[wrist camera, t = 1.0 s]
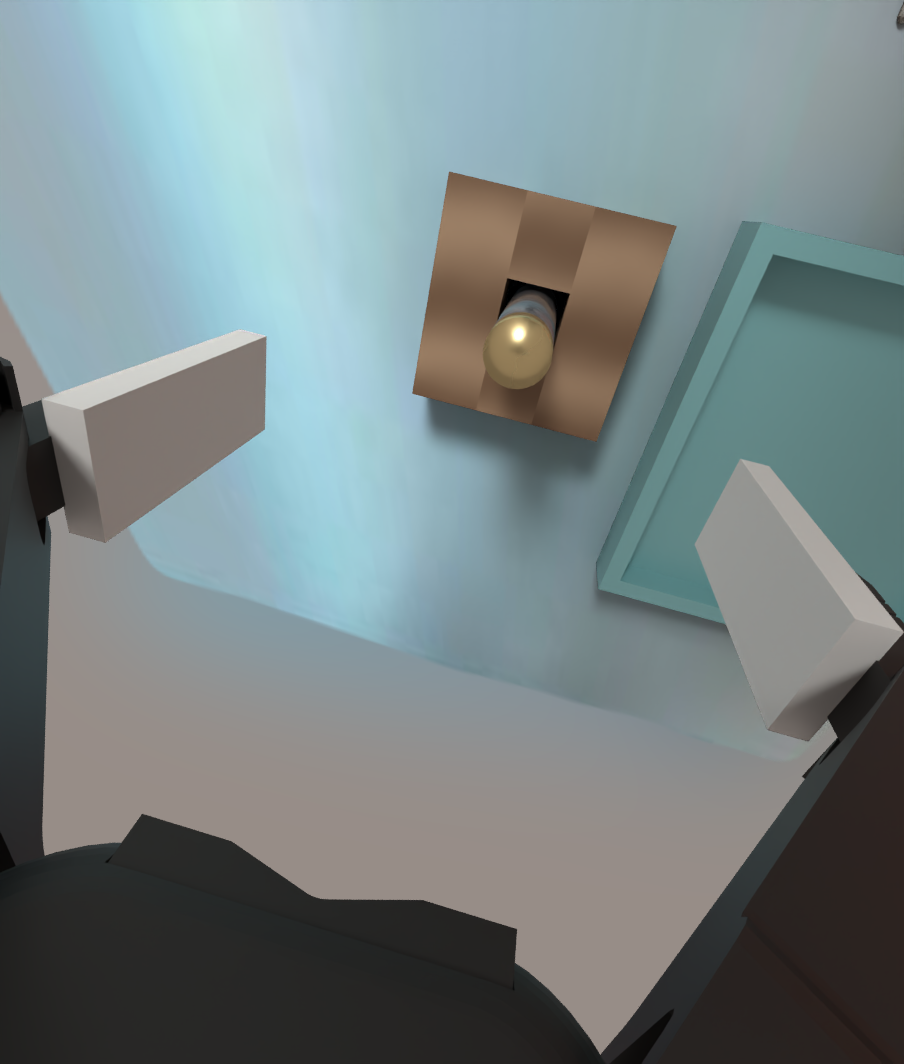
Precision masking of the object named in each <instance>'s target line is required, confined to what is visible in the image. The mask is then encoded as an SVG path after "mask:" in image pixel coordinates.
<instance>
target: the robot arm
mask: <svg viewBox="0 0 904 1064" xmlns="http://www.w3.org/2000/svg"><path fill="white" fill-rule="evenodd" d="M265 387H266V336H264V335H260V334H256V333H252V332H248V331H245V330H241V329H239V330H237V331H234V332H231V333H228V334H225V335H222V336H220V337H217V338H214V339H211V340H208V341H205V342H202V343H200V344H197V345H194V346H191V347H188V348H185V349H182V350H180V351H177V352H174V353H171V354H168V355H165V356H162V357H160V358H157V359H154V360H151V361H148V362H145V363H142V364H140V365H137V366H134V367H131V368H128V369H125V370H122V371H120V372H117V373H114V374H111V375H108V376H105V377H102V378H100V379H97V380H94V381H91V382H88V383H85V384H82V385H80V386H77V387H74V388H71V389H68V390H65V391H62V392H60V393H57V394H54V395H51V396H48V397H45V398H43V399H41V400H40V401H38V402H34V403H32V404H29V405H26V406H23V407H22V405H21V400H20V396H19V392H18V387H17V383H16V379H15V374H14V370H13V366H12V364H11V362H10V361H8V360H6V359H4V358H2V357H0V1064H904V623H903V622H902V620H901V619H900V618H898V617H896V615H897V614H896V613H895V612H894V611H893V610H892V608H891V607H890V606H889V605H888V604H885V602H886V601H885V600H884V599H883V597H882V596H881V595H880V594H879V593H878V591H877V590H876V589H875V588H874V587H873V585H871V584H870V583H869V582H868V581H866V580H865V579H864V578H862V577H861V576H860V575H859V574H857V573H856V572H855V571H854V570H853V569H852V568H851V566H850V565H849V564H848V563H847V561H846V560H845V559H844V558H843V557H842V555H841V554H840V553H839V552H838V550H837V549H836V548H835V547H834V545H833V544H832V543H831V542H830V541H829V539H828V538H827V537H826V536H825V534H824V533H823V532H822V531H821V529H820V528H819V527H818V526H817V524H816V523H815V522H814V521H813V520H812V518H811V517H810V516H809V515H808V513H807V512H806V511H805V510H804V508H803V507H802V506H801V505H800V504H799V502H798V501H797V500H796V499H795V497H794V496H793V495H792V494H791V492H790V491H789V490H788V489H787V488H786V486H785V485H784V484H783V483H782V481H781V480H780V479H779V478H778V476H777V475H776V474H775V473H774V472H773V470H772V469H771V468H770V467H769V466H766V465H763V464H759V463H755V462H751V461H747V460H743V459H740V460H739V462H738V464H737V466H736V468H735V470H734V471H733V473H732V475H731V477H730V479H729V481H728V483H727V485H726V486H725V488H724V490H723V492H722V494H721V496H720V498H719V500H718V501H717V503H716V505H715V507H714V509H713V511H712V513H711V515H710V516H709V518H708V520H707V522H706V524H705V526H704V528H703V530H702V531H701V533H700V535H699V537H698V539H697V541H696V543H695V547H696V549H697V552H698V554H699V557H700V560H701V562H702V565H703V567H704V570H705V572H706V575H707V577H708V580H709V582H710V585H711V588H712V590H713V593H714V595H715V598H716V600H717V603H718V605H719V608H720V611H721V613H722V616H723V618H724V621H725V623H726V626H727V628H728V631H729V634H730V636H731V639H732V641H733V644H734V646H735V649H736V651H737V654H738V656H739V659H740V662H741V664H742V667H743V669H744V672H745V674H746V677H747V679H748V682H749V685H750V687H751V690H752V692H753V695H754V697H755V700H756V702H757V705H758V707H759V710H760V713H761V715H762V718H763V720H764V723H765V725H766V728H767V730H770V731H773V732H777V733H780V734H784V735H787V736H791V737H794V738H798V739H802V740H805V741H809V740H810V739H811V738H812V737H813V736H814V735H815V733H816V732H817V731H818V730H819V729H820V728H821V727H822V725H823V724H824V723H825V722H826V721H827V720H829V722H830V723H831V725H832V727H833V729H834V731H835V733H836V735H837V737H838V738H837V739H836V740H835V741H834V742H833V743H832V744H831V745H830V746H829V748H828V749H827V750H826V751H825V752H824V753H823V754H822V755H821V756H820V758H818V760H817V761H816V762H815V763H814V764H813V765H812V766H811V767H810V768H809V769H808V770H807V772H806V773H805V774H804V775H803V776H802V777H803V778H805V780H804V781H803V782H802V784H801V785H800V787H799V788H798V789H797V791H796V792H795V793H794V795H793V796H792V798H791V799H790V800H789V802H788V803H787V804H786V806H785V807H784V809H783V810H782V811H781V813H780V814H779V815H778V817H777V818H776V820H775V821H774V822H773V824H772V825H771V827H770V828H769V829H768V831H767V832H766V833H765V835H764V836H763V837H762V839H761V840H760V842H759V843H758V844H757V846H756V847H755V848H754V850H753V851H752V853H751V854H750V855H749V857H748V858H747V859H746V861H745V862H744V864H743V865H742V866H741V868H740V869H739V871H738V872H737V873H736V875H735V876H734V878H733V879H732V880H731V882H730V883H729V884H728V886H727V887H726V888H725V890H724V891H723V893H722V894H721V895H720V897H719V898H718V900H717V901H716V902H715V904H714V905H713V907H712V908H711V909H710V910H709V912H708V913H707V915H706V916H705V917H704V919H703V920H702V922H701V923H700V924H699V926H698V927H697V928H696V930H695V931H694V932H693V934H692V935H691V937H690V938H689V939H688V941H687V942H686V943H685V945H684V946H683V948H682V949H681V950H680V952H679V953H678V954H677V956H676V957H675V959H674V960H673V961H672V963H671V964H670V966H669V967H668V968H667V970H666V971H665V972H664V974H663V975H662V977H661V978H660V979H659V981H658V982H657V983H656V985H655V986H654V988H653V989H652V990H651V992H650V993H649V994H648V996H647V997H646V999H645V1000H644V1001H643V1003H642V1004H641V1006H640V1007H639V1008H638V1010H637V1011H636V1012H635V1014H634V1015H633V1016H632V1018H631V1019H630V1020H629V1021H628V1023H627V1024H626V1025H625V1026H624V1028H623V1029H622V1030H621V1031H620V1032H619V1034H618V1035H617V1036H616V1037H615V1038H614V1039H613V1041H612V1042H611V1043H610V1044H609V1045H608V1046H607V1048H606V1049H605V1050H604V1051H603V1052H602V1054H601V1055H600V1054H599V1052H598V1050H597V1049H596V1047H595V1046H594V1044H593V1043H592V1041H591V1039H590V1038H589V1037H588V1035H587V1034H586V1033H585V1032H584V1030H583V1029H582V1027H581V1026H580V1025H579V1023H578V1022H577V1021H576V1020H575V1018H574V1017H573V1015H572V1014H571V1013H570V1012H569V1011H568V1010H567V1008H566V1007H565V1006H564V1005H563V1004H562V1003H561V1002H560V1001H559V1000H558V999H557V998H556V997H555V996H554V995H553V994H552V992H551V991H550V990H549V989H547V988H546V987H545V986H544V985H543V984H542V983H541V982H539V981H538V980H537V979H536V978H535V977H534V976H532V975H531V974H530V973H529V972H528V971H526V970H525V969H523V968H522V967H520V966H519V965H517V964H516V963H515V950H516V934H517V929H515V928H511V927H508V926H505V925H502V924H498V923H495V922H492V921H488V920H485V919H482V918H479V917H476V916H472V915H469V914H466V913H463V912H459V911H456V910H453V909H449V908H446V907H443V906H440V905H436V904H433V903H430V902H427V901H424V900H327V899H319V898H315V897H313V896H311V895H309V894H307V893H306V892H304V891H303V890H301V889H300V888H298V887H297V886H295V885H294V884H292V883H291V882H290V881H288V880H287V879H285V878H284V877H282V876H281V875H279V874H278V873H276V872H275V871H274V870H272V869H271V868H269V867H268V866H266V865H265V864H263V863H262V862H261V861H259V860H258V859H256V858H255V857H253V856H252V855H251V854H249V853H248V852H246V851H245V850H243V849H242V848H240V847H239V846H237V845H236V844H235V843H233V842H231V841H229V840H225V839H222V838H219V837H216V836H212V835H209V834H206V833H203V832H199V831H196V830H193V829H190V828H186V827H183V826H180V825H177V824H173V823H170V822H166V821H163V820H160V819H157V818H154V817H151V816H147V815H144V814H142V815H141V817H140V818H139V819H138V820H137V822H136V823H135V825H134V826H133V828H132V829H131V830H130V832H129V833H128V835H127V836H126V837H125V839H124V840H123V842H122V843H108V844H97V845H88V846H83V847H78V848H74V849H69V850H65V851H60V852H55V853H53V854H49V855H46V856H45V855H44V849H43V837H42V816H43V815H42V814H43V783H44V749H45V716H46V683H47V649H48V616H49V615H48V614H49V582H50V551H51V530H50V526H49V521H48V517H47V516H48V515H50V514H51V513H53V512H55V511H57V510H58V509H60V508H62V507H63V506H64V510H65V515H66V520H67V524H68V529H69V533H73V534H76V535H80V536H84V537H87V538H90V539H94V540H97V541H101V542H105V543H106V542H107V541H108V540H110V539H111V538H112V537H114V536H116V535H117V534H118V533H120V532H121V531H122V530H124V529H125V528H127V527H128V526H130V525H131V524H132V523H134V522H135V521H137V520H138V519H139V518H141V517H142V516H144V515H145V514H146V513H148V512H149V511H151V510H152V509H154V508H155V507H156V506H158V505H159V504H161V503H162V502H163V501H165V500H166V499H168V498H169V497H170V496H172V495H173V494H175V493H176V492H177V491H179V490H180V489H182V488H183V487H184V486H186V485H187V484H189V483H190V482H191V481H193V480H194V479H196V478H197V477H198V476H200V475H201V474H203V473H204V472H206V471H207V470H208V469H210V468H211V467H213V466H214V465H215V464H217V463H218V462H220V461H221V460H222V459H224V458H225V457H227V456H228V455H229V454H231V453H232V452H234V451H235V450H236V449H238V448H239V447H241V446H242V445H243V444H245V443H246V442H248V441H249V440H250V439H252V438H253V437H255V436H256V435H258V434H259V433H260V432H262V431H263V430H265Z"/></svg>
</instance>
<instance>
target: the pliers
mask: <svg viewBox="0 0 904 1064" xmlns="http://www.w3.org/2000/svg"><path fill="white" fill-rule="evenodd" d="M897 20H898V24H903V23H904V2H903V5H902V7H901V9H900V12H899V14H898V16H897Z"/></svg>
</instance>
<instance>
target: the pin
mask: <svg viewBox="0 0 904 1064" xmlns="http://www.w3.org/2000/svg"><path fill="white" fill-rule="evenodd" d="M556 317H557V300H556V297H555V295H554V293H553V292H552V290H551V289H549V288H545V287H541V286H537V285H533V284H526V285H524V286H522V287H521V288H519V289H518V290H517V291H516V293H515V294H514V295H513V297H512V299H511V300H510V302H509V303H508V305H507V306H506V308H505V309H504V311H503V313H502V314H501V316H500V317H499V319H498V320H497V322H496V324H495V325H494V327H493V328H492V330H491V331H490V333H489V335H488V336H487V338H486V340H485V343H484V347H483V361H484V365H485V368H486V370H487V372H488V374H489V375H490V377H491V378H492V379H493V380H494V381H495V382H497V383H498V384H500V385H502V386H504V387H506V388H510V389H524V388H527V387H530V386H532V385H534V384H536V383H537V382H539V381H540V380H541V379H542V378H543V377H544V376H545V374H546V373H547V371H548V369H549V367H550V365H551V361H552V354H553V345H554V336H555V326H556Z"/></svg>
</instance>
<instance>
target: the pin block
mask: <svg viewBox="0 0 904 1064" xmlns="http://www.w3.org/2000/svg"><path fill="white" fill-rule="evenodd" d="M676 227H677V226H674V225H670V224H666V223H661V222H657V221H653V220H649V219H645V218H640V217H636V216H632V215H628V214H624V213H620V212H615V211H611V210H607V209H603V208H599V207H595V206H590V205H586V204H582V203H578V202H574V201H570V200H565V199H561V198H557V197H553V196H549V195H545V194H540V193H536V192H532V191H528V190H524V189H519V188H515V187H511V186H507V185H503V184H499V183H494V182H490V181H486V180H482V179H478V178H474V177H469V176H465V175H461V174H457V173H453V172H449V176H448V182H447V188H446V194H445V200H444V206H443V212H442V218H441V224H440V230H439V236H438V242H437V248H436V254H435V260H434V266H433V272H432V278H431V284H430V290H429V296H428V302H427V308H426V314H425V320H424V326H423V332H422V338H421V344H420V350H419V356H418V362H417V368H416V374H415V380H414V386H413V392H412V394H416V395H420V396H424V397H427V398H431V399H435V400H439V401H443V402H446V403H450V404H454V405H458V406H462V407H466V408H469V409H473V410H477V411H481V412H485V413H488V414H492V415H496V416H500V417H504V418H508V419H511V420H515V421H519V422H523V423H527V424H531V425H534V426H538V427H542V428H546V429H550V430H553V431H557V432H561V433H565V434H569V435H573V436H576V437H580V438H584V439H588V440H592V441H595V442H596V441H597V439H598V436H599V433H600V431H601V428H602V425H603V423H604V420H605V417H606V415H607V412H608V409H609V406H610V404H611V401H612V398H613V396H614V393H615V390H616V388H617V385H618V382H619V380H620V377H621V374H622V372H623V369H624V366H625V364H626V361H627V358H628V355H629V353H630V350H631V347H632V345H633V342H634V339H635V337H636V334H637V331H638V329H639V326H640V323H641V321H642V318H643V315H644V313H645V310H646V307H647V305H648V302H649V299H650V296H651V294H652V291H653V288H654V286H655V283H656V280H657V278H658V275H659V272H660V270H661V267H662V264H663V262H664V259H665V256H666V254H667V251H668V248H669V245H670V243H671V240H672V237H673V235H674V232H675V229H676ZM511 279H513V280H517V281H521V282H525V283H529V284H533V285H537V286H541V287H545V288H549V289H553V290H558V291H562V292H566V293H567V297H566V300H565V304H564V307H563V310H562V314H561V317H560V321H559V324H558V327H557V331H556V334H555V338H554V345H553V354H552V361H551V365H550V367H549V369H548V371H547V373H546V374H545V376H544V377H543V378H542V379H541V380H540V381H539V382H537V383H536V384H534V385H532V386H530V387H527V388H524V389H510V388H506V387H504V386H502V385H500V384H498V383H497V382H495V381H494V380H493V379H492V378H491V377H490V375H489V374H488V372H487V370H486V368H485V365H484V361H483V347H484V343H485V340H486V338H487V336H488V335H489V333H490V331H491V330H492V328H493V327H494V325H495V324H496V322H497V320H498V319H499V317H500V316H501V314H502V313H503V311H504V308H505V304H506V299H507V295H508V291H509V287H510V283H511Z"/></svg>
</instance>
